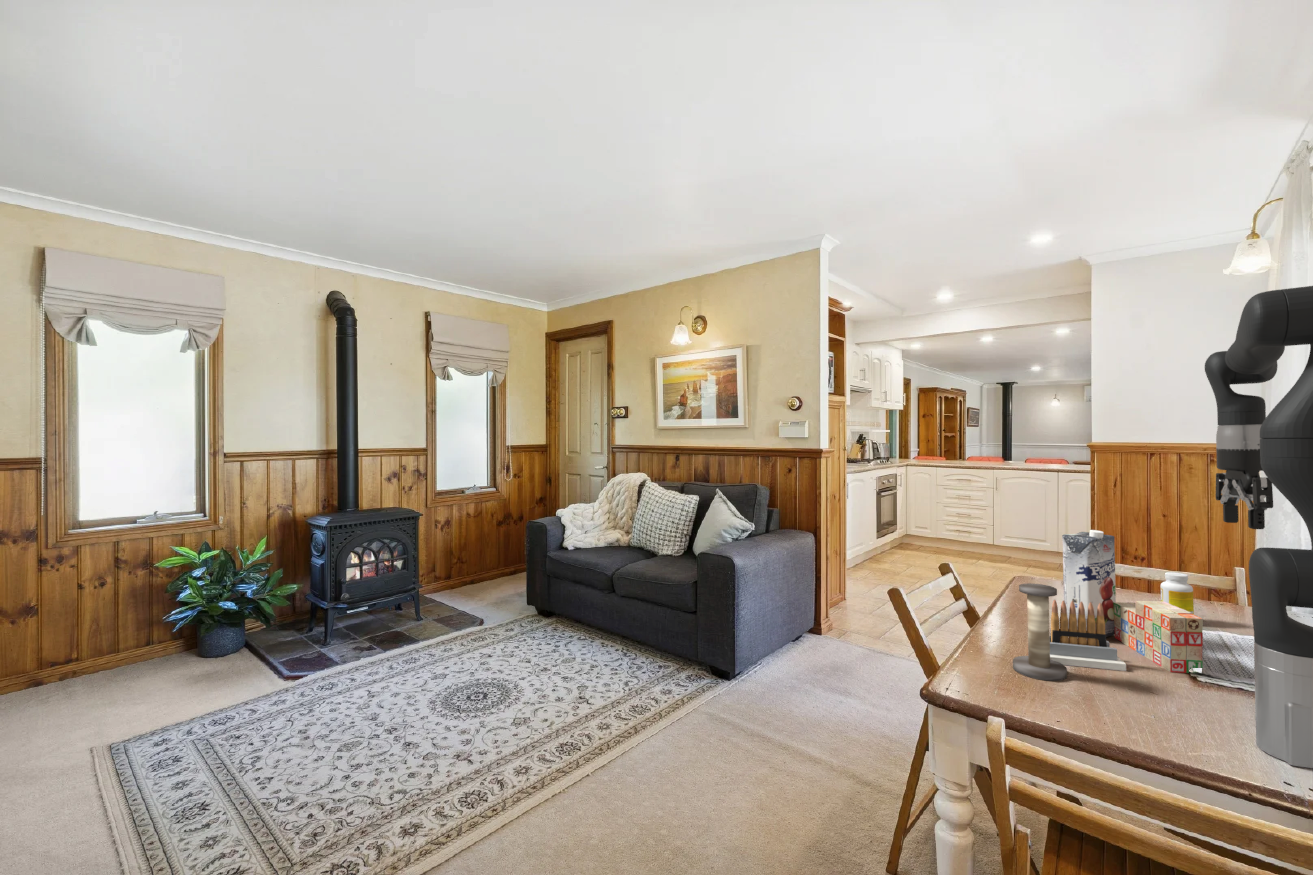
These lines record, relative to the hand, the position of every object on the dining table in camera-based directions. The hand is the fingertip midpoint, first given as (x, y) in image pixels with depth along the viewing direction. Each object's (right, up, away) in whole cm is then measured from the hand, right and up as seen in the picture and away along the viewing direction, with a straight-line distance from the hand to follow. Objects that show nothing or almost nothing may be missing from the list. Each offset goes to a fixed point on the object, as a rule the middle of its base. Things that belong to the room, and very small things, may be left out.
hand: (1243, 525), depth 119 cm
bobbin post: (-36, -33, +8) cm, 50 cm away
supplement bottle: (+21, -32, +38) cm, 54 cm away
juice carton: (-9, -33, +30) cm, 45 cm away
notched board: (-24, -33, +14) cm, 43 cm away
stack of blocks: (-4, -33, +16) cm, 37 cm away
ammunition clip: (-24, -32, +14) cm, 42 cm away
